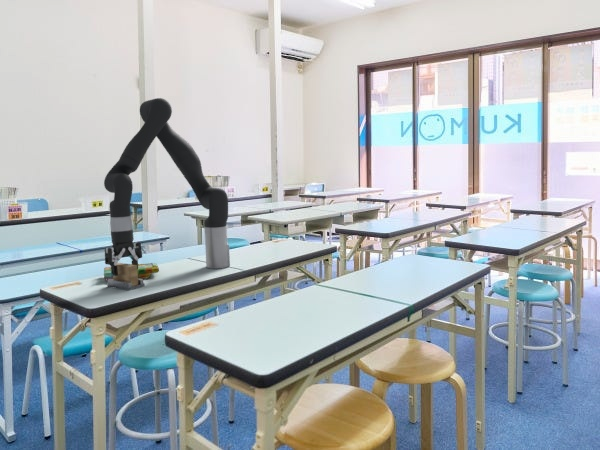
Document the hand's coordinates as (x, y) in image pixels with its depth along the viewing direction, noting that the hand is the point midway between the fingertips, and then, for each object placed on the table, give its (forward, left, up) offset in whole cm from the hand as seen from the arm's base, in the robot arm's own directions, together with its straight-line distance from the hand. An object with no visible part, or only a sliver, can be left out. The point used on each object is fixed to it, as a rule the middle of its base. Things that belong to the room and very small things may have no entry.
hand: (125, 273), depth 185 cm
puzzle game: (-4, -15, -6) cm, 16 cm away
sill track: (0, 0, -5) cm, 5 cm away
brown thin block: (0, 0, -4) cm, 4 cm away
